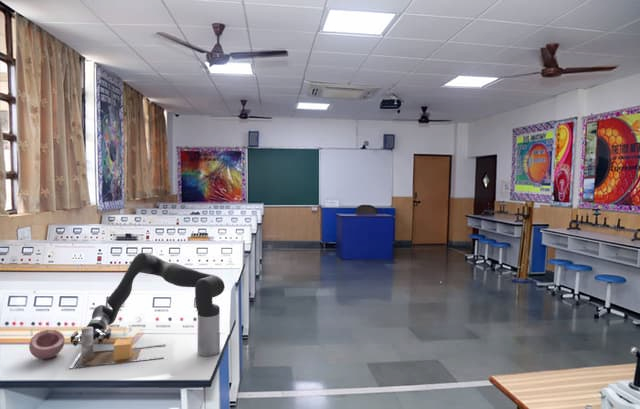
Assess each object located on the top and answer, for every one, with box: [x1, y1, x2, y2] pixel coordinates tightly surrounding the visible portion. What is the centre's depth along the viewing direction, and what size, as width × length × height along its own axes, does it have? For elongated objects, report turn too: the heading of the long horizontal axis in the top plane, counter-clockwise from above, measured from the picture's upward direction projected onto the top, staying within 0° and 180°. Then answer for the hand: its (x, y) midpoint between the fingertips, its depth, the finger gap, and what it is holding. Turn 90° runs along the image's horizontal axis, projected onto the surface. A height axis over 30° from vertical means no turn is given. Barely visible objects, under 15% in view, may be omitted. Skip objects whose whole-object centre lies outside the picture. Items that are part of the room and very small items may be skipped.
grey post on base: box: [75, 326, 142, 366], centre depth 159 cm, size 22×10×14 cm, turn 108°
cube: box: [113, 337, 133, 360], centre depth 161 cm, size 6×6×6 cm
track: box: [68, 343, 167, 370], centre depth 161 cm, size 34×14×2 cm, turn 108°
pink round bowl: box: [28, 329, 66, 360], centre depth 161 cm, size 12×12×11 cm
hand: (87, 342), depth 156 cm, fingers open, 8 cm apart
